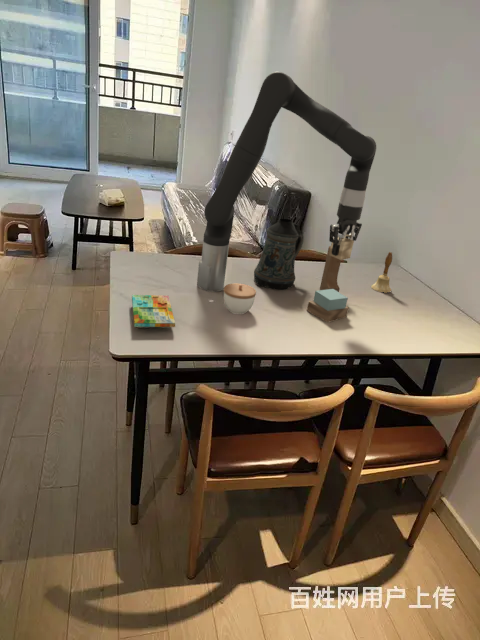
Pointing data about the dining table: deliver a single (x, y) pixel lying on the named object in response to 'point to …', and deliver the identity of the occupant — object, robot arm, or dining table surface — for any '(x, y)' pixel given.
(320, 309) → the tower base
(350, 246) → the maple block
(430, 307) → the dining table surface
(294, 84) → the robot arm
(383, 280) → the hand bell
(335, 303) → the tower top
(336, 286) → the wooden block
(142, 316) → the puzzle game
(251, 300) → the lidded jar
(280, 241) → the beer stein
